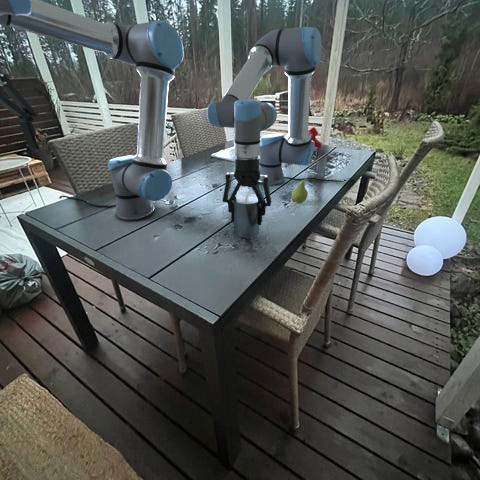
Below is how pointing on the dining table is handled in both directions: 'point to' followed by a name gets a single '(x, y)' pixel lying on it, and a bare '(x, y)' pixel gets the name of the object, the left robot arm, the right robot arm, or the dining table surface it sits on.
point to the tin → (246, 215)
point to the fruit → (300, 192)
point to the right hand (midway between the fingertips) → (246, 221)
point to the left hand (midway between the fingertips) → (7, 155)
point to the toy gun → (313, 133)
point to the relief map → (226, 154)
